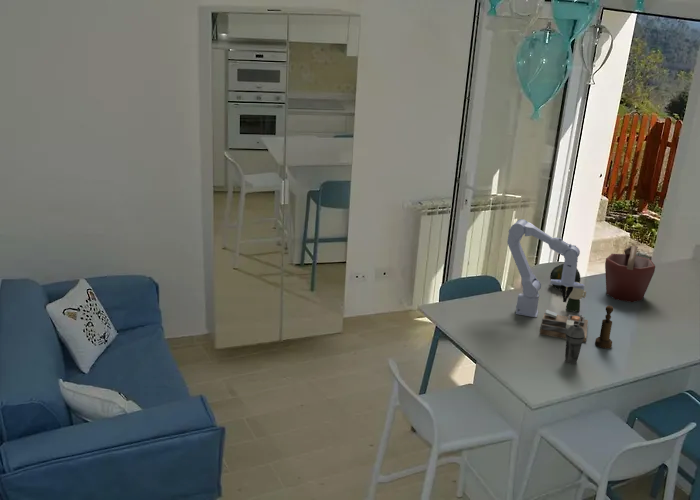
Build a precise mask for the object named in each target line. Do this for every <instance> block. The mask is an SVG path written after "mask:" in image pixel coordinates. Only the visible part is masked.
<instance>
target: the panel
mask: <svg viewBox="0 0 700 500" xmlns="http://www.w3.org/2000/svg"><path fill="white" fill-rule="evenodd" d="M572 316H576V315H573V314H568V316H566V315H561V314H557V317H556V318H554V317H551V316H548V315H545V312H544V314H543V316H542V319H541V320H542V321H541V324H540V329H539V335H542V336H543V335H544V336H548V337H549V336H550V337H555V338H559V339H560V338H561V339H565V340H566V331H567V328H566V323H567V320H571V319H572ZM577 316H578V317H580V316H581V315H577ZM585 318H586V317H585V316H582V317H581V322H580V324H579V326H580V327H582V329H583V330H584V334H585V338H584V340H583V342H582V343H586V342H587V337H588V336H587V335H588V326H589V325H588V323H589V320H588V319H585ZM571 321H574V320H571ZM578 323H579V321H574V325H578Z"/></svg>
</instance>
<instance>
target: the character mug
mask: <svg viewBox="0 0 700 500" xmlns="http://www.w3.org/2000/svg"><path fill="white" fill-rule="evenodd" d="M577 283H579V282H577ZM580 283H581V284H583V283H582V282H580ZM566 292H567V287H566ZM586 297H587V291H585V289H584V290H582V289H579V288H573V291H572V292H571V293H570V295H569V297H568V299H567V301H566V305H565V308H566V310H568V311H569V312H578V311H580V309H581V299H585V298H586Z"/></svg>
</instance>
